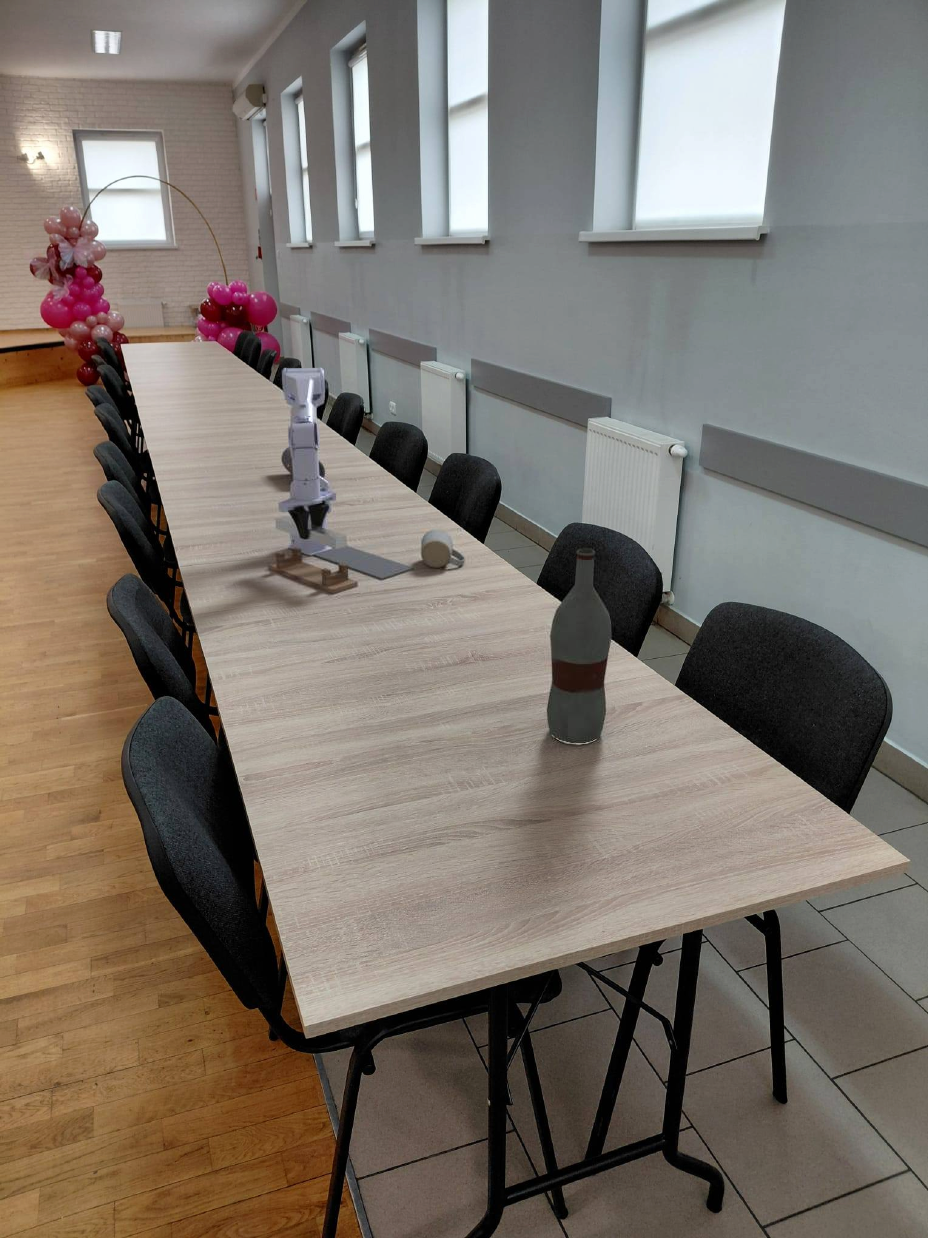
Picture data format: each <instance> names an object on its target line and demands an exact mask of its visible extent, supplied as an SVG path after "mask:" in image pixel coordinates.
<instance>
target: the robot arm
mask: <svg viewBox="0 0 928 1238" xmlns="http://www.w3.org/2000/svg"><path fill="white" fill-rule="evenodd" d="M281 375H282V376H281V383H282V392H283V394H284V400H285V401H286V405H288V406H291V408H290V425H288V427H287V438H288V446H289V447H290V451H291V458H292V466H293V475H292V477H293V479H292V480H293V481H292V482H291V483H290V485H289V490H290V491H289V498H288V499H285V500H282V501H279V502H278V503H277V504H278V512H281V513H288V514H289V515H290V517H291V518H292V519H293V520H294V522H295V525H296V527H297V530H298V533H299V536H300V537H299V536H296V535H293V534H290V533H289V535H290V537H289V538H290V545H288V546H287V547H288V549H291V550H293V549H292V548H294V547H297V548H300V549H301V554H305V555H307V556H309V557H310V556H313V555H314V554H317V553H320V552H324V551H327V550H331V549H334V548H331V547H328V546H325V545H322V544H319V543H317V542H314V541H311V540H308V523H310V524H313V525H316V526H319V527H322V528H325V529H328V522H327V521H328V519H327V516H328V515H327V514H331V511H332V502H334V501H337V492H336V491H333V490H330V483H329V481H328V480H326V479H325V477H324V478H322V477H321V476H319V461H320V460H319V448H320V430H319V429H320V428H319V425H318V424H319V423H318V420H317V419H318V418H317V417H318V416H317V414H318V413H317V408H318V407H320V406H321V405H324V404H325V400H326V399H325V398H326V397H325V396H326V395H325V393H326V383H325V369H323V368H322V367H311V368H308V367H307V368H306V367H305V368H304V367H303V368H299V367H298V368H297V367H296V368H295V367H294V368H291V367H290V368H287V367H284V368H283V369H282V370H281ZM318 460H319V461H318Z"/></svg>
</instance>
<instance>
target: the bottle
mask: <svg viewBox="0 0 928 1238" xmlns="http://www.w3.org/2000/svg"><path fill="white" fill-rule="evenodd" d="M595 554H596V551H595V550H594V549H592V548H586V547H585V548H580V549H578V550H576V566H575V579H574V580H575V581H574V586H573V587H572V588H571V589H570V591H569V592H568V594H567V595H566V596H565V597H564V598H563V599H562V601H561V603H560V604H559V605H558V607H557V608H556V610H555V613H554V616H553V618H552V621H551V629H550V634H549V640H550V641H549V642H550V650H551V651H550V655H551V684H550V689H549V694H548V701H547V706H546V717H547V719H546V720H547V726H548V729H549V733H550V735H551V734H552V735H553V736H554V737H555V738H558V739H559V740H562V741H566V742H570V743H586V742H590V741H593V740H595V739H597V738H598V737H599V736H600V737H601V734H602V732H603V729H604V724H605V720H606V719H605V718H606V715H607V702H606V701H607V699H606V689H605V679H606V672H607V666H608V660H609V652H610V648H611V643H612V635H613V634H612V621H611V617H610V613H609V611H608V610H607V608H606V606H605V604H604V602H603V601H602V599H601V598H600V596H599V594H598V592H597V591H596V589H595V587H594V566H595ZM600 737H599V738H600ZM599 738H598V739H599ZM598 739H597V740H598Z"/></svg>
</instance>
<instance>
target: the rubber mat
mask: <svg viewBox="0 0 928 1238" xmlns="http://www.w3.org/2000/svg"><path fill="white" fill-rule="evenodd" d="M312 556H314V557H316V558H319V559H322V560H325V561H328V562H331V563H334V564H337V565H338V564H341V563H343V564H346V565H348V569H351V570H353V571H356V572H358V573H359V572H360V573H362V574H364V575H368V576H371V577H373V578H376V579H378V580H382V581H383V580H386V579H389V578H392V577H395V576H399V575H402V574H405V573H407V572H411V571H413V570H415V568H414V567H412V566H409V565H406V564H404V563H400V562H397V561H394V560H392V559H388V558H385V557H382V556H379V555H376V554H374V553H370V552H368V551H367V552H366V551H364V550H360V549H357V548H355V547H352V546H350V545H347V546H346V547H342V548H339V549H331V550H327V551H324V552H320V553H317V554H314V555H312Z"/></svg>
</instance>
